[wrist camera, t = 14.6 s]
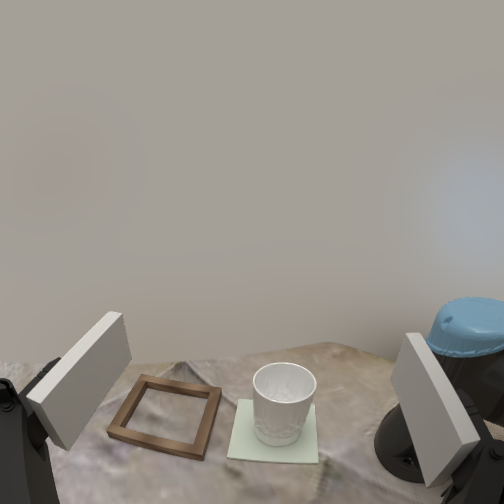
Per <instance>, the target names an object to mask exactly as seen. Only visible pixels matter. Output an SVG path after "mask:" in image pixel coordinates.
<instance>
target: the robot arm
mask: <svg viewBox="0 0 504 504" xmlns="http://www.w3.org/2000/svg"><path fill="white" fill-rule="evenodd" d="M131 360H132V358H131V353H130V349H129V345H128V340H127V335H126V330H125V325H124V320H123V314H122V313H117V312H110V311H109V312H108V313H107V314H106V315H105V316H104V317H103V318H102V319H101V320H100V321H99V322H98V323H97V324H96V325H95V326H94V327H93V328H92V329H91V330H90V331H89V332H88V333H87V334H86V335H85V336H84V337H83V338H81V340H80V341H78V342H77V343H76V344H75V346H74V347H73V348H72V349H71V350H70V351H69V352H68V353H67V354H66V355H65V356H64V357H63V358H59V357H58V358H57V359H55V360H53V361H51V362H49V363H48V364H47V365H46V366H45V367H44V368H43V369H42V371H40V372H39V373H38V374H37V377H35V378H34V379H33V380H32V381H31V382H30V383H29V384H28V385H27V386H26V387H25V388H24V389H23V390H22V391H21V392H20V393H19V394H17V392H16V390H15V388H14V386H13V384H12V383H11V381H10V380H8V379H5V378H0V504H60V502H59V499H58V495H57V491H56V486H55V482H54V477H53V473H52V468H51V462H50V457H49V451H48V445H47V443H46V441H45V440H46V438H47V437H48V436H49V437H50V439H51V440H52V442H53V443H54V445H56V446H58V447H60V448H62V449H64V450H67V451H69V450H70V449H71V447H72V446H73V444H74V443H75V441H76V439H77V438H78V436H79V435H80V433H81V432H82V430H83V429H84V427H85V426H86V425H87V423H88V422H89V420H90V419H91V417H92V416H93V414H94V413H95V411H96V410H97V408H98V407H99V405H100V404H101V402H102V401H103V400H104V398H105V397H106V395H107V394H108V392H109V391H110V389H111V388H112V387H113V385H114V384H115V382H116V381H117V379H118V378H119V377H120V375H121V374H122V372H123V371H124V369H125V368H126V367H127V365H128V364H129V362H130V361H131ZM391 382H392V384H393V387H394V390H395V392H396V395H397V398H398V401H399V404H398V405H397V406H396V407H394V408H393V409H392V410H391V411H389V412H388V413H387V414H386V416H385V417H384V418H383V420H382V422H381V424H380V426H379V428H378V430H377V432H376V435H375V450H376V453H377V456H378V458H379V460H380V461H381V463H382V464H383V465H384V466H385V468H386V469H388V470H389V471H390V472H391V473H393V474H394V475H396V476H397V477H400V478H402V479H404V480H407V481H411V482H421V483H423V482H425V484H426V488H430V487H434V486H437V485H441V484H444V483H445V482H446V481H447V480H448V479H449V477H450V476H452V479H453V483H452V484H451V485H450V486H449V487H448V488H447V489H446V490H445V491H444V492H443V493H442V495H441V497H443V496H444V495H445V494H446V495H445V497H444V499H443V501H442V503H441V504H504V442H503V441H501V440H497V439H493V438H492V436H491V434H490V432H489V430H488V428H487V426H486V424H485V423H484V421H483V419H484V420H486V421H489V422H491V423H494V424H496V425H499V426H501V427H504V302H502V301H499V300H495V299H490V298H483V297H466V298H459V299H455V300H453V301H450V302H448V303H447V304H445V305H444V306H443V307H442V308H441V309H440V310H439V312H438V313H437V315H436V318H435V321H434V323H433V326H432V329H431V331H430V333H429V334H428V336H427V338H426V342H425V340H424V339H423V337H422V336H421V334H420V333H405V337H404V340H403V343H402V347H401V350H400V353H399V356H398V359H397V362H396V365H395V368H394V370H393V373H392V376H391Z"/></svg>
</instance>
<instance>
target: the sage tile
mask: <svg viewBox="0 0 504 504" xmlns="http://www.w3.org/2000/svg"><path fill="white" fill-rule="evenodd" d="M227 459H235V460H244V461H254V462H266V463H284V464H318V463H319V462H318V446H317V431H316V417H315V405H314V404H311V406H310V410H309V413H308V416H307V418H306V421H305V424H304V426H303V429H302V432H301V434H300V436H299V437H298V439H297V440H296V441H295V442H293V443H291V444H290V445H287V446H281V447H276V446H271V445H267V444H265V443H264V442H262V441H260V440H259V439H258V437H257V436H256V434H255V432H254V418H253V400H247V399H239V401H238V406H237V411H236V416H235V421H234V426H233V431H232V436H231V440H230V445H229V450H228V455H227Z"/></svg>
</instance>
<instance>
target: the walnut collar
mask: <svg viewBox="0 0 504 504" xmlns="http://www.w3.org/2000/svg"><path fill="white" fill-rule="evenodd" d="M147 387H148V388H152V389H157V390H162V391H167V392H172V393H178V394H183V395H189V396H195V397H201V398H208V401H207V404H206V408H205V411H204V414H203V417H202V420H201V423H200V426H199V429H198V432H197V436H196V439H195V442H194V445H193V444H188V443H183V442H178V441H173V440H169V439H164V438H160V437H156V436H152V435H148V434H144V433H141V432H137V431H133V430H130V429H126V428H125V426H126V424H127V423H128V421H129V419H130V417H131V415H132V414H133V412H134V410H135V408H136V407H137V405H138V403H139V401H140V400H141V398H142V396H143V394H144V393H145V391H146V389H147ZM221 394H222V391H221V388H220V387H212V386H205V385H198V384H192V383H186V382H180V381H174V380H169V379H164V378H158V377H153V376H149V375H144V374H141V375H140V377H139V379H138V380H137V382H136V383H135V385H134V386H133V388H132V390H131V391H130V393H129V394H128V396H127V398H126V399H125V401H124V402H123V404H122V406H121V407H120V409H119V411H118V412H117V414H116V415H115V417H114V419H113V420H112V422H111V424H110V425H109V427H108V429H107V430H106V431H107V433H108V435H109V437H112V438H115V439H118V440H121V441H124V442H127V443H130V444H134V445H137V446H141V447H144V448H148V449H152V450H156V451H160V452H164V453H168V454H173V455H177V456H182V457H187V458H192V459H197V460H203V459H204V456H205V452H206V449H207V445H208V441H209V438H210V434H211V431H212V427H213V423H214V420H215V416H216V413H217V409H218V405H219V402H220V398H221Z"/></svg>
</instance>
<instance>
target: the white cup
mask: <svg viewBox="0 0 504 504" xmlns="http://www.w3.org/2000/svg"><path fill="white" fill-rule="evenodd" d="M315 390H316V379H315V377H314V376H313V374H312V373H311V372H310V371H309V370H307V369H306V368H304V367H302V366H299V365H296V364H292V363H283V362H281V363H272V364H269V365H266V366H264V367H262V368H260V369H259V370H258V371H257V372H256V373H255V375H254V377H253V418H254V432H255V434H256V436H257V437H258V439H259V440H260V441H262V442H264V443H265V444H267V445H271V446H276V447H281V446H287V445H290V444H291V443H293V442H295V441H296V440H297V439H298V437H299V436H300V434H301V432H302V429H303V426H304V424H305V421H306V418H307V416H308V413H309V410H310V406H311V403H312V400H313V396H314V393H315Z"/></svg>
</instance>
